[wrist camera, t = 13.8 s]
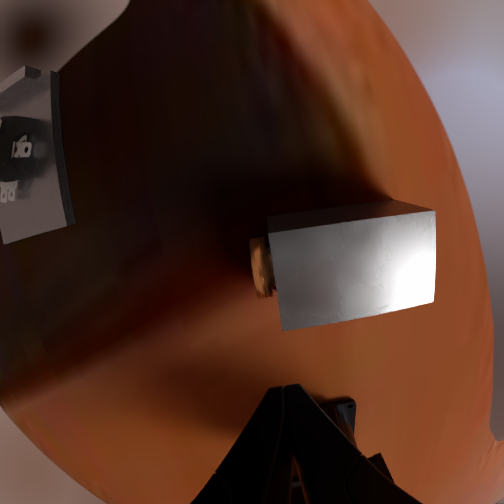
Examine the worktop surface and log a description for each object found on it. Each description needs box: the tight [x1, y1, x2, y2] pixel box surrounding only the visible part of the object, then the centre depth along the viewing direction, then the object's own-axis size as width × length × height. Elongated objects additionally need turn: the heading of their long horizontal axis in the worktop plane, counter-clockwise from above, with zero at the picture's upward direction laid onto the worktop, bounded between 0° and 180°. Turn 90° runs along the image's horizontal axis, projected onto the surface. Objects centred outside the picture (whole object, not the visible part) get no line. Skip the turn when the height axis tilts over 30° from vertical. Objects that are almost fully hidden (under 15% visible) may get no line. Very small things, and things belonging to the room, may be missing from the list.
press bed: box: [0, 65, 76, 244], centre depth 16 cm, size 12×8×3 cm, turn 9°
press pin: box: [250, 237, 276, 299], centre depth 17 cm, size 3×9×3 cm, turn 99°
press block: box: [267, 200, 436, 331], centre depth 16 cm, size 5×8×5 cm, turn 99°
